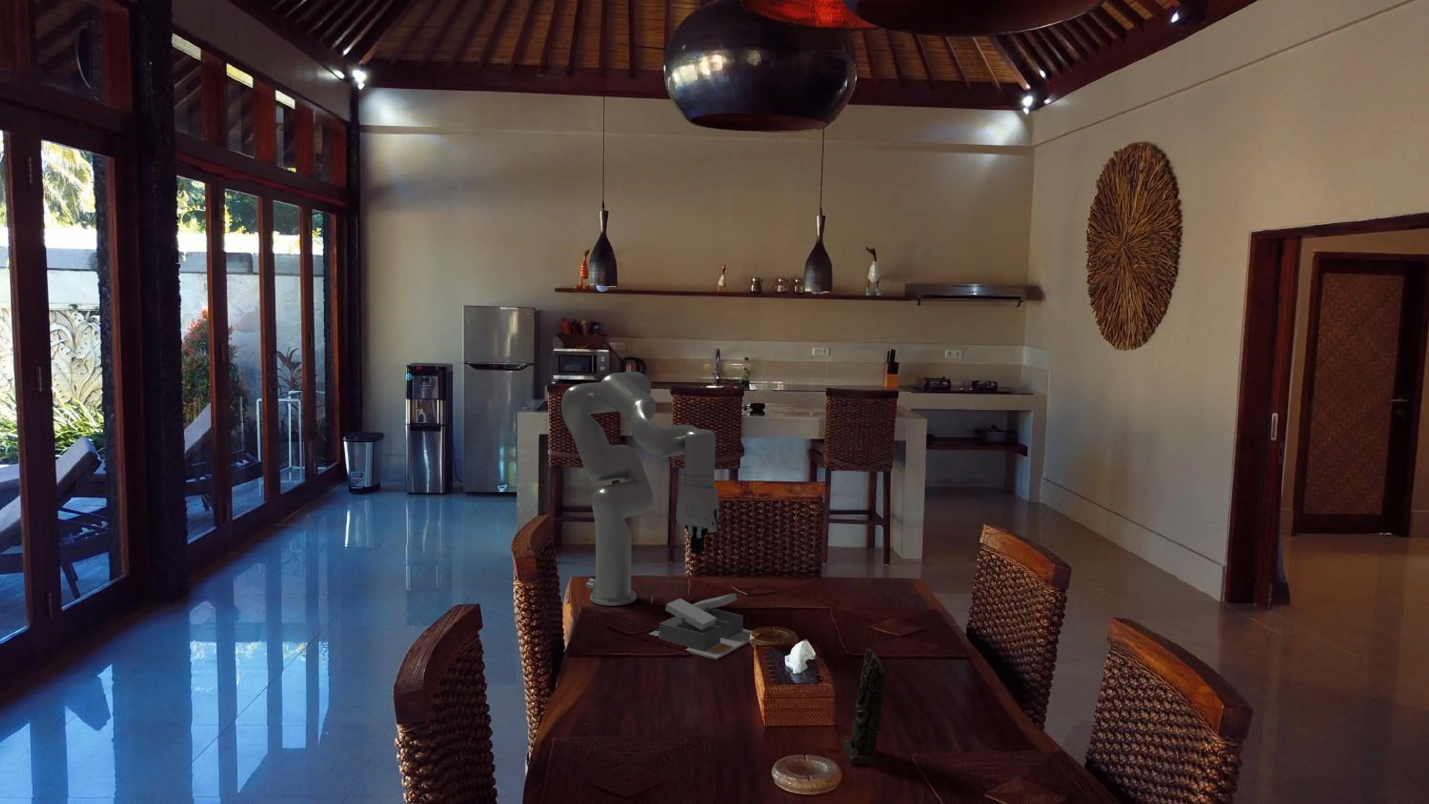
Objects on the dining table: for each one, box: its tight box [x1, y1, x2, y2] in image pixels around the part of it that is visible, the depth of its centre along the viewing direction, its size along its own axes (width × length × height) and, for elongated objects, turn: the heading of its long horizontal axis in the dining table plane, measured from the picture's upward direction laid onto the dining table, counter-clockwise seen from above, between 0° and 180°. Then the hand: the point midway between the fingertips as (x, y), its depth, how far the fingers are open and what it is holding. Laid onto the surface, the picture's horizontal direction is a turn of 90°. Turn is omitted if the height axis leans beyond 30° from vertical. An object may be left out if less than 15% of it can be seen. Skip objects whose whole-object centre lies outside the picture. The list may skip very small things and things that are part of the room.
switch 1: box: [665, 598, 716, 630], centre depth 236 cm, size 11×6×2 cm, turn 57°
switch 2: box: [692, 593, 738, 612], centre depth 244 cm, size 11×6×2 cm, turn 55°
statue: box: [842, 648, 887, 765], centre depth 180 cm, size 7×7×20 cm
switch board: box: [648, 608, 753, 660], centre depth 241 cm, size 22×20×4 cm
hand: (697, 552), depth 246 cm, fingers closed
